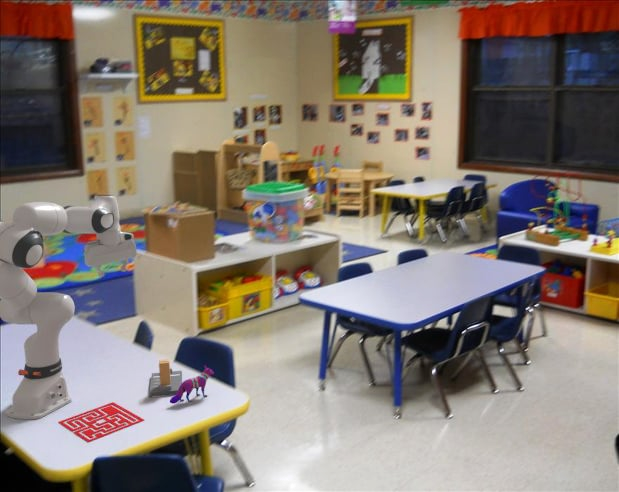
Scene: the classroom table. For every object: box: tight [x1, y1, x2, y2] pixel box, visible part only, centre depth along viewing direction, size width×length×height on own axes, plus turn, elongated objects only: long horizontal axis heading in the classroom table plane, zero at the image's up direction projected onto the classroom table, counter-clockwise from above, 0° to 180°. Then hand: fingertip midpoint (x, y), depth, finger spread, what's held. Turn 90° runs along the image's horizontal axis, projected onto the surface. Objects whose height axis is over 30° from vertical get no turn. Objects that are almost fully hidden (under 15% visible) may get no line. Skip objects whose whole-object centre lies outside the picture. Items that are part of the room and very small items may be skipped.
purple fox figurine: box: [169, 365, 215, 404], centre depth 251 cm, size 4×18×10 cm, turn 130°
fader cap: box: [158, 358, 171, 386], centre depth 259 cm, size 4×4×9 cm
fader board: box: [149, 367, 183, 398], centre depth 264 cm, size 18×11×3 cm, turn 9°
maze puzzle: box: [58, 401, 145, 443], centre depth 237 cm, size 20×20×1 cm
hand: (112, 273), depth 272 cm, fingers open, 8 cm apart
